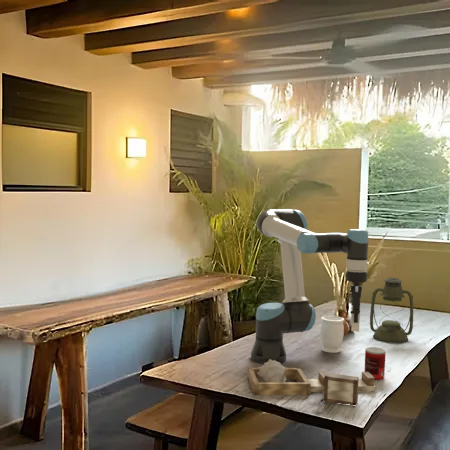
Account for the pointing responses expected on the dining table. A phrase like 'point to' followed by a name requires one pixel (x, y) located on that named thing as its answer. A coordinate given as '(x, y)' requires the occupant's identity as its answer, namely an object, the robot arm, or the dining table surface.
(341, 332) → the jar
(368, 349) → the canned food
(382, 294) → the lantern
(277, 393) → the shell cradle
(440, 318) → the dining table surface
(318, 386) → the ledge
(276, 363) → the seashell
